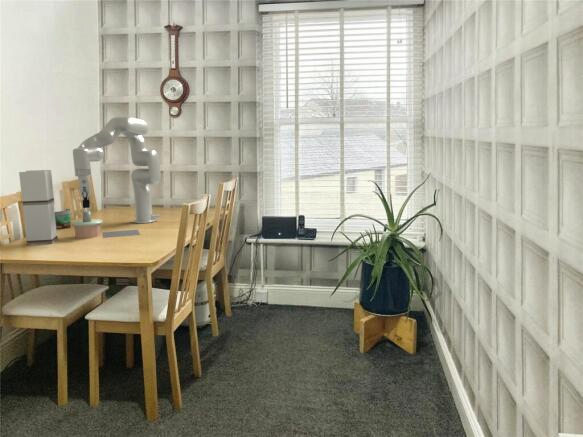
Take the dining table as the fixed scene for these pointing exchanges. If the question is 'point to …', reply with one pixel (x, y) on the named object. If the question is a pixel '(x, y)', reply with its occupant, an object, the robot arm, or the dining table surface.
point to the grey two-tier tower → (38, 206)
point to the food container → (63, 219)
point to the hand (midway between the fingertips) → (86, 206)
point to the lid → (87, 220)
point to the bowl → (87, 231)
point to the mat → (120, 233)
